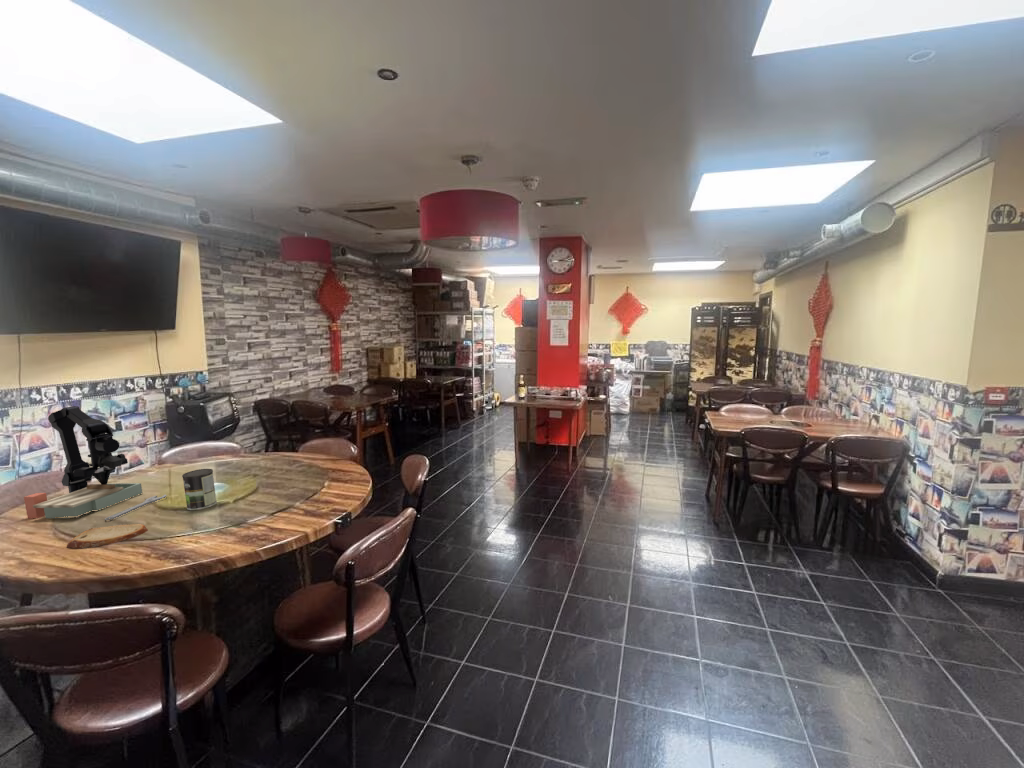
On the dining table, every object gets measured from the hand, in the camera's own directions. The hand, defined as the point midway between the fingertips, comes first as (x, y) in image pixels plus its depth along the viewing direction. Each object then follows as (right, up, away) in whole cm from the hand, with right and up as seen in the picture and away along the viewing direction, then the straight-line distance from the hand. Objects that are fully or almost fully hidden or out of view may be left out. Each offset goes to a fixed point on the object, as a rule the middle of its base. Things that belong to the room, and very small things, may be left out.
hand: (104, 485), depth 193 cm
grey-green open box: (0, -7, -4) cm, 8 cm away
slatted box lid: (-1, -3, -10) cm, 10 cm away
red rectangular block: (-14, -9, -14) cm, 22 cm away
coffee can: (+50, -6, -11) cm, 52 cm away
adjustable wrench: (+22, -8, -10) cm, 26 cm away
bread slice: (+36, -10, -38) cm, 53 cm away
